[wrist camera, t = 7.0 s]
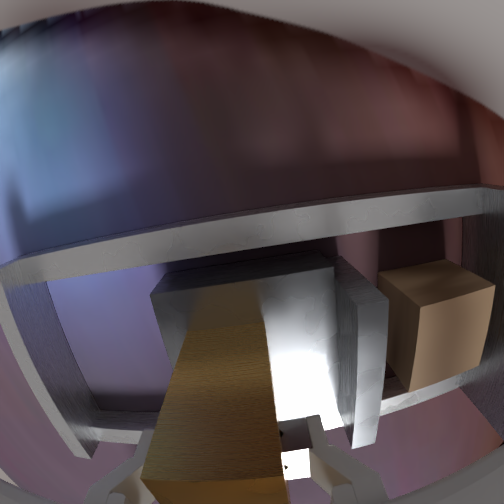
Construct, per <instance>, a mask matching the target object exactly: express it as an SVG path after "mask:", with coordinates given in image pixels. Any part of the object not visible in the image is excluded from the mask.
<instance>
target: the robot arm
mask: <svg viewBox="0 0 504 504" xmlns="http://www.w3.org/2000/svg"><path fill="white" fill-rule="evenodd" d="M278 423H279V430H280V436H281V446H282V454H283V460H284V464H285V471H286V477H287V480H288V479H296V478H303V477H309V476H310V478H311V479H312V480H314V481H315V482H316V483H317V484H318V485H319V486H320V487H321V488H322V489H324V490H325V491H326V492H327V493H328V494H329V495H330V496H331V503H330V504H504V444H503V445H502V446H500V447H499V448H497V449H496V450H494V451H492V452H491V453H489V454H487V455H486V456H484V457H482V458H481V459H479V460H477V461H475V462H474V463H472V464H470V465H468V466H466V467H464V468H463V469H461V470H459V471H457V472H455V473H453V474H451V475H449V476H447V477H445V478H442V479H440V480H438V481H436V482H434V483H432V484H429V485H427V486H425V487H422V488H420V489H417V490H415V491H412V492H410V493H407V494H405V495H402V496H399V497H396V498H394V499H391V500H389V498H388V495H387V493H386V490H385V488H384V485H383V483H382V480H381V477H380V475H379V473H377V472H375V471H374V470H372V469H370V468H369V467H367V466H366V465H364V464H362V463H361V462H359V461H358V460H356V459H354V458H353V457H351V456H350V455H348V454H347V453H345V452H344V451H342V450H340V449H339V448H337V447H336V446H334V445H329V444H328V440H327V437H326V433H325V430H324V427H323V423H322V420H321V416H320V415H319V414H316V415H311V416H306V417H300V418H294V419H289V420H282V421H278ZM154 430H155V429H146V428H145V429H144V430H143V431H142V434H141V437H140V440H139V442H138V445H137V448H136V451H135V454H134V457H133V458H129V459H127V460H126V461H125V462H123V463H122V464H121V465H119V466H118V467H117V468H115V469H114V470H113V471H111V472H110V473H109V474H107V475H106V476H104V477H103V478H102V479H100V480H99V481H97V482H96V483H95V484H93V485H92V486H90V488H89V491H88V493H87V495H86V498H85V500H84V503H83V504H152V502H153V501H154V500H155V499H156V498H155V497H154V496H153V495H152V494H151V492H150V491H149V490H148V489H147V487H146V486H145V485H144V483H143V482H142V481H141V479H140V476H141V472H142V469H143V466H144V462H145V459H146V456H147V452H148V449H149V446H150V443H151V439H152V436H153V433H154ZM0 504H61V503H58V502H55V501H53V500H50V499H47V498H44V497H42V496H39V495H36V494H34V493H31V492H29V491H26V490H24V489H22V488H19V487H17V486H15V485H13V484H10V483H8V482H6V481H4V480H2V479H0Z"/></svg>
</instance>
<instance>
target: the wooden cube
mask: <svg viewBox="0 0 504 504" xmlns="http://www.w3.org/2000/svg"><path fill="white" fill-rule="evenodd" d="M378 290H379V291H380V292H381V293H382V294H384V295H385V296H386V297H387V298H388V299H389V313H388V336H387V351H386V361H387V363H388V364H389V365H390V367H391V368H392V370H393V371H394V373H395V374H396V376H397V377H398V378H399V380H400V381H401V383H402V384H403V386H404V387H405V389H406V390H407V392H408V393H410V392H413V391H416V390H419V389H422V388H425V387H427V386H430V385H433V384H435V383H438V382H441V381H443V380H446V379H448V378H451V377H453V376H456V375H458V374H460V373H463V372H465V371H467V370H470V369H472V368H474V367H476V366H479V363H480V360H481V356H482V352H483V348H484V344H485V340H486V335H487V331H488V326H489V321H490V316H491V311H492V305H493V299H494V292H495V285H494V284H493V283H491V282H489V281H487V280H485V279H483V278H482V277H480V276H478V275H476V274H474V273H472V272H470V271H468V270H466V269H464V268H462V267H460V266H458V265H456V264H455V263H453V262H451V261H449V260H447V259H443V260H438V261H434V262H429V263H424V264H419V265H414V266H409V267H404V268H398V269H393V270H388V271H383V272H378Z"/></svg>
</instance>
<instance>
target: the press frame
mask: <svg viewBox="0 0 504 504" xmlns="http://www.w3.org/2000/svg"><path fill="white" fill-rule="evenodd" d="M456 217H463V250H462V268H464V269H466V270H468V271H470V272H472V273H474V274H476V275H478V276H480V277H482V278H483V279H485V280H487V281H489V282H491V283H493V284H494V285H495V292H494V299H493V305H492V311H491V316H490V321H489V326H488V331H487V335H486V340H485V344H484V348H483V352H482V356H481V360H480V363H479V366H476V367H474V368H472V369H470V370H467V371H465V372H463V373H460V374H458V375H456V376H453V377H451V378H448V379H446V380H443V381H441V382H438V383H435V384H433V385H430V386H427V387H425V388H422V389H419V390H416V391H413V392H410V393H408V392H407V390H406V389H405V387H404V386H403V384H402V383H401V381H400V380H399V378H398V377H397V376H394V377H391V378H387V379H384V384H383V392H382V400H381V408H380V415H379V416H381V415H385V414H388V413H391V412H394V411H397V410H400V409H403V408H406V407H409V406H412V405H415V404H418V403H420V402H423V401H426V400H428V399H431V398H434V397H436V396H439V395H441V394H443V393H446V392H448V391H451V390H453V389H455V388H458V387H460V389H461V390H462V391H463V392H464V393H465V394H466V395H467V397H468V398H469V399H470V400H471V401H472V402H473V404H474V405H475V406H476V407H477V408H478V410H479V411H480V412H481V413H482V414H483V416H484V417H485V418H486V419H487V420H488V422H489V423H490V424H491V425H492V427H493V428H494V429H495V430H496V432H497V433H498V434H499V435H500V437H501V438H502V439H503V440H504V186H499V185H491V184H483V183H480V184H466V185H453V186H441V187H430V188H419V189H409V190H399V191H390V192H380V193H371V194H363V195H354V196H346V197H338V198H330V199H323V200H315V201H308V202H300V203H293V204H286V205H279V206H273V207H266V208H259V209H253V210H247V211H240V212H234V213H228V214H222V215H216V216H210V217H204V218H198V219H193V220H187V221H181V222H176V223H170V224H165V225H160V226H154V227H149V228H144V229H139V230H134V231H129V232H124V233H119V234H114V235H109V236H104V237H100V238H95V239H90V240H86V241H81V242H76V243H72V244H67V245H63V246H59V247H54V248H50V249H46V250H41V251H37V252H33V253H29V254H25V255H22V256H19V257H17V258H15V259H13V260H11V261H8V262H6V263H4V264H2V265H0V323H1V326H2V328H3V331H4V333H5V336H6V338H7V340H8V343H9V345H10V347H11V349H12V352H13V354H14V356H15V358H16V360H17V362H18V364H19V366H20V368H21V370H22V372H23V374H24V376H25V378H26V380H27V382H28V384H29V385H30V387H31V389H32V391H33V393H34V394H35V396H36V398H37V400H38V401H39V403H40V405H41V406H42V408H43V410H44V411H45V413H46V415H47V416H48V418H49V419H50V421H51V422H52V424H53V425H54V427H55V428H56V430H57V431H58V433H59V434H60V436H61V437H62V439H63V440H64V441H65V443H66V444H67V446H68V447H69V448H70V450H71V451H72V452H73V454H74V455H75V456H77V457H82V458H88V459H92V457H93V455H94V452H95V450H96V448H97V446H98V444H99V442H100V441H106V442H116V443H128V444H138V442H139V440H140V437H141V434H142V431H143V430H144V429H145V428H146V429H155V426H156V423H157V420H158V417H159V414H160V412H124V411H104V410H100V409H99V407H98V405H97V403H96V402H95V400H94V398H93V396H92V394H91V392H90V390H89V388H88V386H87V384H86V382H85V380H84V378H83V376H82V374H81V372H80V370H79V368H78V365H77V363H76V361H75V359H74V356H73V354H72V352H71V350H70V347H69V345H68V342H67V340H66V338H65V335H64V333H63V330H62V327H61V325H60V322H59V319H58V317H57V314H56V311H55V308H54V306H53V303H52V300H51V297H50V294H49V290H48V287H47V284H46V281H52V280H58V279H64V278H70V277H77V276H83V275H89V274H95V273H102V272H108V271H114V270H120V269H127V268H133V267H139V266H146V265H152V264H158V263H164V262H171V261H177V260H183V259H190V258H196V257H202V256H209V255H215V254H222V253H228V252H234V251H241V250H247V249H254V248H260V247H266V246H273V245H279V244H286V243H292V242H299V241H305V240H312V239H318V238H325V237H331V236H338V235H344V234H351V233H357V232H364V231H370V230H377V229H383V228H390V227H396V226H403V225H410V224H416V223H423V222H429V221H436V220H443V219H449V218H456ZM322 423H323V427H324V430H327V429H331V428H336V427H340V426H343V423H342V420H341V418H340V415H339V412H338V417H334V418H329V419H325V420H322Z"/></svg>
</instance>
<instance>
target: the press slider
mask: <svg viewBox="0 0 504 504" xmlns="http://www.w3.org/2000/svg"><path fill="white" fill-rule="evenodd" d="M150 298H151V301H152V305H153V308H154V312H155V315H156V319H157V322H158V325H159V329H160V332H161V335H162V338H163V341H164V345H165V348H166V351H167V354H168V357H169V360H170V363H171V366H172V369H173V374H172V377H171V380H170V383H169V386H168V389H167V392H166V395H165V398H164V401H163V404H162V408H161V411H160V414H159V417H158V420H157V423H156V426H155V430H154V433H153V436H152V439H151V443H150V446H149V449H148V452H147V456H146V459H145V462H144V466H143V469H142V472H141V476H140V479H141V481H142V482H143V483H144V485H145V486H146V487H147V489H148V490H149V491H150V492H151V494H152V495H153V496H154V497H155V498H156V500H157V501H158V502H159V503H160V504H291V502H290V494H289V487H288V480H287V477H286V471H285V464H284V460H283V454H282V446H281V436H280V430H279V423H278V421H282V420H289V419H294V418H300V417H306V416H311V415H316V414H319V415H320V416H321V420H325V419H329V418H334V417H338V412H339V415H340V418H341V420H342V423H343V426H344V429H345V431H346V434H347V437H348V440H349V443H350V445H351V448H352V449H354V448H358V447H362V446H365V445H369V444H372V443H375V439H376V433H377V427H378V421H379V415H380V408H381V400H382V392H383V384H384V374H385V363H386V351H387V336H388V313H389V299H388V298H387V297H386V296H385V295H384V294H382V293H381V292H380V291H379V290H378V289H377V288H376V287H375V286H374V285H373V284H372V283H371V282H369V281H368V280H367V279H366V278H365V277H364V276H363V275H362V274H361V273H360V272H358V271H357V270H356V269H355V268H354V267H353V266H352V265H351V264H350V263H348V262H347V261H346V260H345V259H344V258H343V257H342V256H341V255H340V256H334V257H328V258H325V257H324V256H323V255H322V254H321V253H320V252H319V251H318V250H313V251H307V252H301V253H295V254H288V255H282V256H276V257H269V258H263V259H256V260H250V261H243V262H237V263H230V264H224V265H217V266H211V267H204V268H198V269H191V270H184V271H178V272H171V273H166V274H165V275H164V276H163V278H162V279H161V280H160V282H159V283H158V284H157V285H156V287H155V288H154V289H153V291H152V292H151V293H150Z"/></svg>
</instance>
